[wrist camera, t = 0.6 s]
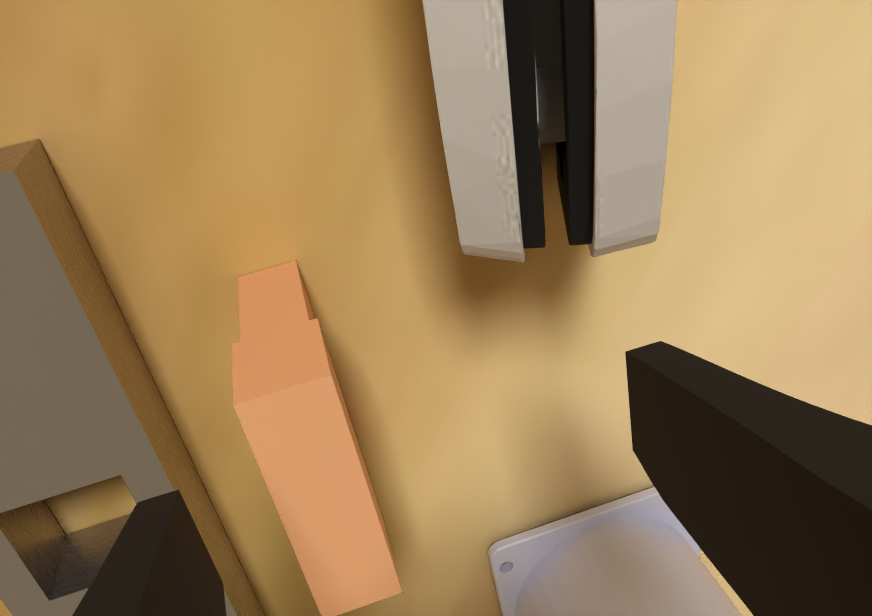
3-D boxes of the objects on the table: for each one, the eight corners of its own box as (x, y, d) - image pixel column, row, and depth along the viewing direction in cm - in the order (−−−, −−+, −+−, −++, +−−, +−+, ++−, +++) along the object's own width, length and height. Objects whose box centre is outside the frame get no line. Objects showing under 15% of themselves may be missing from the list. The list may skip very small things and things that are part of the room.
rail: (320, 732, 29) (328, 797, 27) (187, 782, 29) (185, 852, 27) (39, 139, 17) (13, 170, 15) (-199, 200, 17) (-260, 242, 15)
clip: (362, 444, 24) (402, 592, 18) (300, 464, 23) (322, 620, 18) (303, 258, 20) (331, 374, 15) (230, 279, 20) (233, 405, 15)
